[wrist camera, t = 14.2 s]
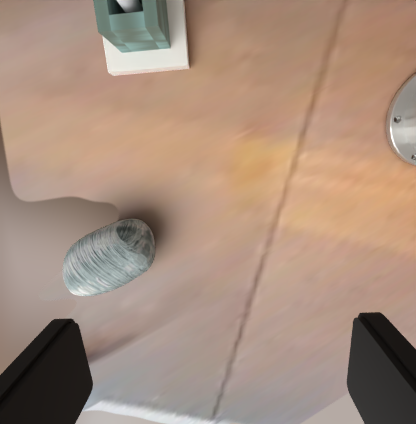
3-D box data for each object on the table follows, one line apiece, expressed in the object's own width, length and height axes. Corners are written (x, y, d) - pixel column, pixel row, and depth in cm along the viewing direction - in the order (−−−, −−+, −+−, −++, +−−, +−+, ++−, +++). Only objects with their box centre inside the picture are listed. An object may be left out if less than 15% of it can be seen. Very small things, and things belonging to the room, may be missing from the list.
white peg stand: (181, -28, 29) (162, -111, 19) (189, 68, 32) (175, 37, 22) (99, -18, 30) (40, -93, 20) (113, 75, 32) (67, 48, 23)
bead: (165, -13, 28) (150, -52, 22) (170, 48, 30) (158, 25, 24) (113, -7, 28) (86, -44, 23) (122, 52, 30) (98, 32, 24)
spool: (134, 196, 33) (109, 260, 26) (174, 236, 39) (161, 297, 32) (66, 222, 38) (31, 281, 32) (110, 254, 44) (88, 310, 37)
